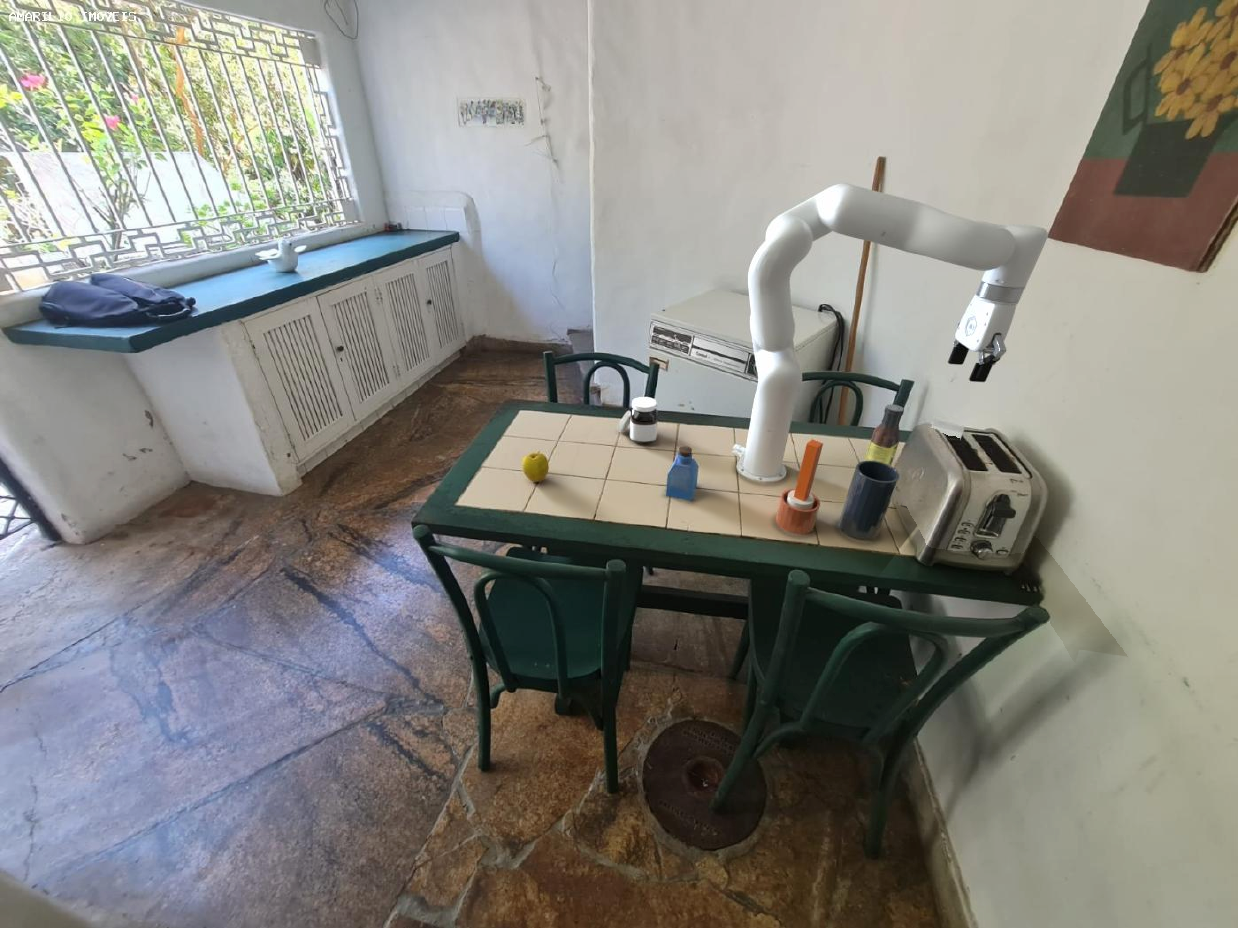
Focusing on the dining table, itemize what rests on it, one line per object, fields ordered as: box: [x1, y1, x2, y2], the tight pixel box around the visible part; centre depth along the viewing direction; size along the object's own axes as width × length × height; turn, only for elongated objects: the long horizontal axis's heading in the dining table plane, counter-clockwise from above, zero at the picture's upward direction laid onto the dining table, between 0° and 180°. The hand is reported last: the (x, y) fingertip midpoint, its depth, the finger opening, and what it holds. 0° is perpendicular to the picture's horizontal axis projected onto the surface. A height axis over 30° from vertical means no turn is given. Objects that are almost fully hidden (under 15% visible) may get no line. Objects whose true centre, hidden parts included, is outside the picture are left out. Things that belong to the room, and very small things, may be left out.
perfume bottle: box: [665, 445, 700, 502], centre depth 122 cm, size 6×6×12 cm
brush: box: [786, 439, 824, 510], centre depth 109 cm, size 5×5×20 cm
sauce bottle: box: [863, 403, 905, 467], centre depth 126 cm, size 6×6×20 cm
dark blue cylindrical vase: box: [837, 460, 900, 542], centre depth 109 cm, size 8×8×16 cm
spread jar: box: [616, 396, 659, 446], centre depth 145 cm, size 12×11×12 cm
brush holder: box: [775, 488, 821, 535], centre depth 113 cm, size 8×8×7 cm
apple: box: [521, 450, 550, 483], centre depth 127 cm, size 6×6×8 cm
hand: (965, 372), depth 112 cm, fingers open, 9 cm apart
